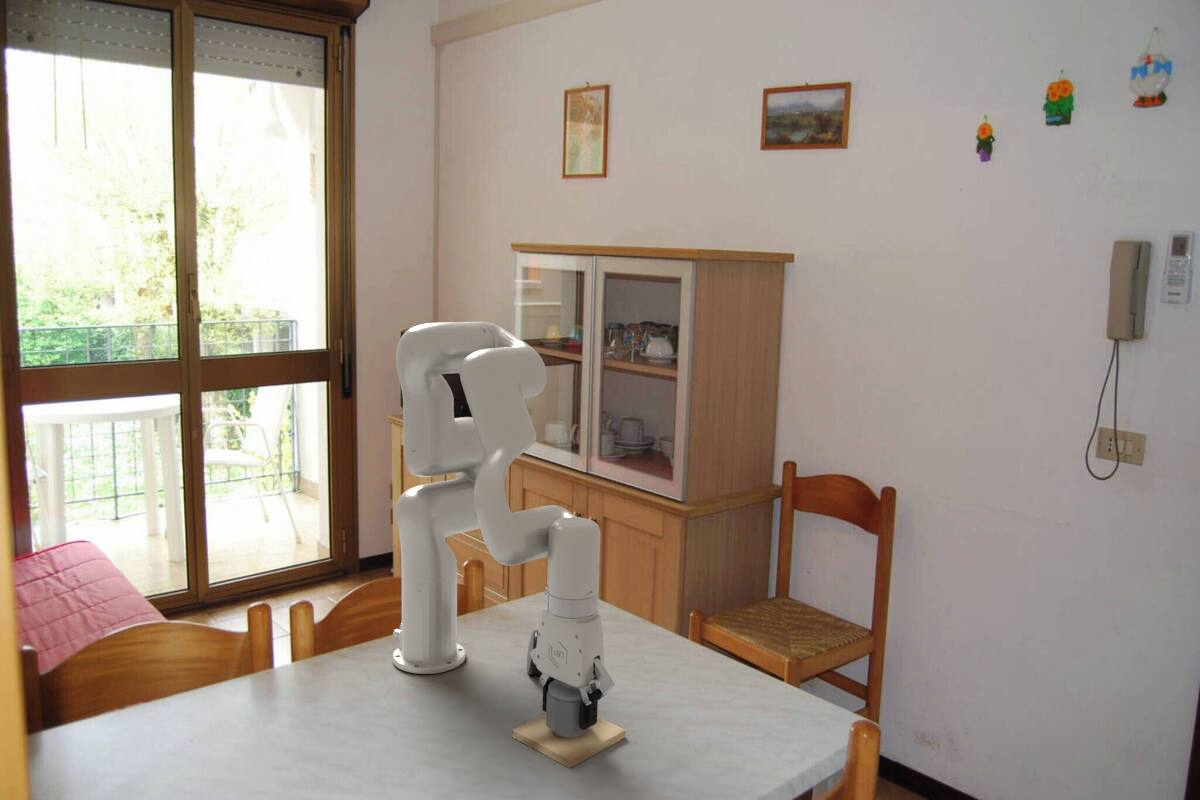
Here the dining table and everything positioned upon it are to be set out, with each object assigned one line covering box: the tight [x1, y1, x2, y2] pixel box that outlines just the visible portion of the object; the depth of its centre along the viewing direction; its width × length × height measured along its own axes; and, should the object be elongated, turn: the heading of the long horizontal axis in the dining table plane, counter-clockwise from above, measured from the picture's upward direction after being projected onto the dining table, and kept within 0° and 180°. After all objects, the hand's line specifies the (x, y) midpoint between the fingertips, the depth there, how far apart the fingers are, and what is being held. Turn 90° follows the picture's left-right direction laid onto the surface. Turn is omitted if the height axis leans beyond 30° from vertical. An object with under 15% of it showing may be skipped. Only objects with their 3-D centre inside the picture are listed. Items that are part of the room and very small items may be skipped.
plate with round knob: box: [511, 713, 627, 769], centre depth 137 cm, size 12×12×7 cm
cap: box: [545, 680, 592, 735], centre depth 137 cm, size 6×6×6 cm
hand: (569, 716), depth 137 cm, fingers closed on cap, 6 cm apart
